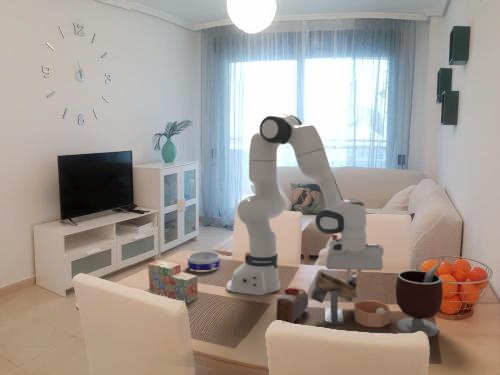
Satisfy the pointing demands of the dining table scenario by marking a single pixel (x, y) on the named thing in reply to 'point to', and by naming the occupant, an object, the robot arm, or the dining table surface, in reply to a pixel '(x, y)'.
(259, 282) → the robot arm
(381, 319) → the octagonal bowl
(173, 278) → the stack of blocks
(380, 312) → the ball
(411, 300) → the mate gourd
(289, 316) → the food item
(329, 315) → the chute stand
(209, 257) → the dog bowl
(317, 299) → the tipping chute
